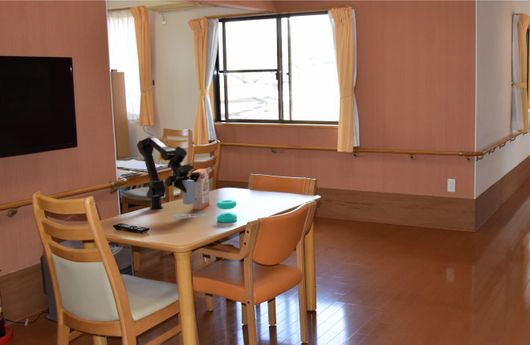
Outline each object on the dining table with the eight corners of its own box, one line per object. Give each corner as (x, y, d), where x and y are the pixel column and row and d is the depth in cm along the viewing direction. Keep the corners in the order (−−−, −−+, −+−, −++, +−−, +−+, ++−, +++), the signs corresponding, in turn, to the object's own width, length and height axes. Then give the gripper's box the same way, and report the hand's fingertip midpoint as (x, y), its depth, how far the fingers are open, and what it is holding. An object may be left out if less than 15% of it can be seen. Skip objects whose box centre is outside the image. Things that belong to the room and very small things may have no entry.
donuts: (224, 198, 327) (240, 200, 322) (224, 217, 329) (241, 219, 323) (212, 202, 319) (228, 203, 314) (213, 222, 320) (229, 223, 315)
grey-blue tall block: (183, 203, 334) (181, 180, 332) (190, 202, 337) (189, 179, 335) (188, 204, 331) (186, 181, 329) (195, 203, 334) (194, 180, 332)
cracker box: (203, 210, 350) (201, 172, 347) (192, 209, 351) (190, 172, 348) (210, 204, 364) (208, 168, 361) (200, 204, 365) (198, 168, 362)
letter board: (172, 215, 338) (172, 214, 338) (202, 212, 343) (202, 212, 343) (176, 220, 327) (176, 219, 327) (207, 217, 331) (207, 216, 331)
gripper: (167, 160, 327) (180, 184, 321) (197, 156, 339) (210, 179, 333) (160, 174, 334) (172, 197, 328) (189, 170, 346) (202, 192, 340)
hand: (190, 191), depth 332 cm, fingers closed on grey-blue tall block, 4 cm apart
